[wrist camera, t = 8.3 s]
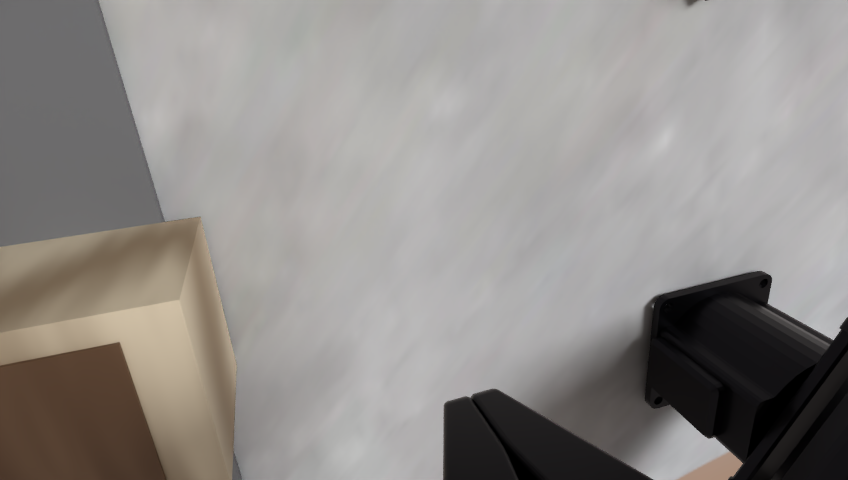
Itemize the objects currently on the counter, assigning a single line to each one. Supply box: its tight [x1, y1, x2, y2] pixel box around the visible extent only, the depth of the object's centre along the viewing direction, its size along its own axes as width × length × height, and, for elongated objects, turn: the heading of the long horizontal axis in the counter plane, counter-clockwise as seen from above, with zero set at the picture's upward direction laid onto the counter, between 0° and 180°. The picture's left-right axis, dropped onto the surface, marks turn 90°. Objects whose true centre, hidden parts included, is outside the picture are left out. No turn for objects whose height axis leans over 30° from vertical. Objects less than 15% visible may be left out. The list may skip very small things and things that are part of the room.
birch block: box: [0, 217, 237, 480], centre depth 15 cm, size 6×6×10 cm
